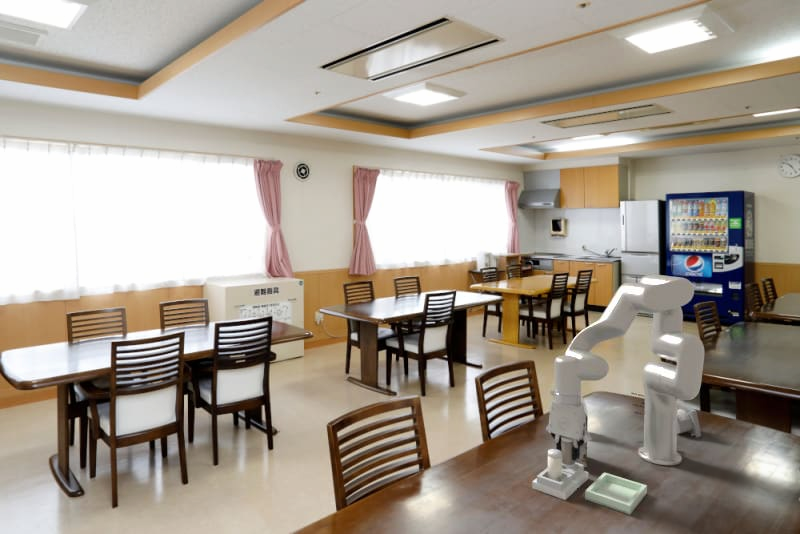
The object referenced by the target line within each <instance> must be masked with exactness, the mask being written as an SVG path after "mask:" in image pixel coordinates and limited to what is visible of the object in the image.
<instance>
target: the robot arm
mask: <svg viewBox="0 0 800 534" xmlns="http://www.w3.org/2000/svg"><path fill="white" fill-rule="evenodd" d="M694 293H695V287H694V285H693V283H692V282H691V281H690V280H689V279H687V278H685V277H680V276H669V275H662V274H647V275H644V276H642V277H641V278H640V280H639V282H631V281H630V282H625V283H623V284H620V286H619V287H618V288H617V290H616V291H615V293H614V295H613V296H612V298H611V300H610V302H609V303H608V305H607V306H606V308H605V309H604V311H603V312H602V315H601V316H600V317H599V318H598V319H597V320H596V321H595V322H593V323H591V324H590V325H588V326H587V327H586V328H583V329H582V330H581V331H580V332H579V333H577V334H576V336H575V337H574V338H573V339H572V341H571V343H570V344H569V346H568V347H567V349H566V351H565V352H564V355H559V356H557V357H555V359H554V364H553V365H554V366H553V367H554V368H553V369H554V370H553V371H554V373H553V374H554V377H553V378H554V380H553V383H554V389H553V390H551V391H550V395H551V396H553V399H552V400H551V403H550V409H549V417H548V424H547V426H546V427H545V431H547V433H549V434H550V436H551V437H552V438H553V439H554V442H555V443H556V446H555V447H556V448H555V449H557V450H560V451H561V436H564V437H568V438H572V439H573V444H574V447H572V460H574V461H575V460H576V459H577V458H579V456H580V446H581V445H582V444H583V443H586V442H587V443H589V442H590V441H591V440H592V436H591V435H590V433H589V432H588V429H587V430H586V417H585V410H584V406H583V403H581V396H582V381H588V382H590V381H591V382H593V381H594V382H595V381H600V380H602V379H605V377H606V376H607V375H608V373H609V371H610V370H609V363H608V361H606V359H605V358H603V357H601V356H599V355H597V354H594V353H592V352H590V351H592V349H593V348H594V347H595V346H596V345H599V344H600V343H602V342H605V341H607V340H611V339H612V340H613V339H616V338H620V337H623V336H625V335H626V334H627V332H628V330H629V329H630V327H631V325H632V324H633V322H634V320H636V317H637V316H638V314H639V313H640V312H643V313H649V314H652V315H653V316H652V329H651V335H650V350H651V353H652V354H653V355H654V356H657V357H659V358H662V359H665V360H669V361H672V362H675V363H676V364H672V363H669V362H664V361H662V360H661V361H660V360H652V361H649V362H648V363H646V364H645V365H644V367H643V368H642V369H641V370H642V371H641V381H642V386H643V387H642V388H643V392H644V396H645V397H644V403H645V404H644V407H645V408H644V413H643V416H644V418H643V421H644V422H643V423H644V424H643V446H642V447H639V448H638V456H639V457H640V458H642V459H643V460H645V461H646V462H648V463H652V464H656V465H660V466H675V465H679V464H681V463H682V459H683V458H682V455H681V454H680V453H679V452H678V451H677V446H678V445H677V441H678V440H677V439H678V438H677V436H678V434H677V410H678V409H677V402H678V401H677V399H679V400H684V401H691V400H693V399H695V398H696V397H697V396H698V394H699V392H700V389H701V385H702V379H703V378H702V377H703V369H704V362H705V347H704V344H703V341H702V340H701V339H700V338H699V337H698V336H697V335H694V334H693V333H689V332H684V331H683V321H684V320H683V319H684V316H683V315H684V314H683V310H682V307H683V306H685V305H687V304H689V302H691V301H692V299H693V297H694ZM582 436H584V438H582ZM581 438H582V439H581Z"/></svg>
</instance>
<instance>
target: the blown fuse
mask: <svg viewBox="0 0 800 534" xmlns="http://www.w3.org/2000/svg"><path fill="white" fill-rule="evenodd" d="M572 447H574V444H573V439H572V438H568V437H564V436H561V451H562V466H563V467H565V468H574V467H575V461H574V460H572Z"/></svg>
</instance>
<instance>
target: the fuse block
mask: <svg viewBox="0 0 800 534" xmlns="http://www.w3.org/2000/svg"><path fill="white" fill-rule="evenodd" d="M588 479H589V471H586V470H585V467H584V465H583V464H579V463H576V462H575V467H574V468H565V467H563V466H562V451H560V450H557V449H556V448H551V449H548V450H547V467H546V468H545V469H544V470H543V471H541V472H539V474H537V475H536V478H535V479H533V480H532V486H531V487H532V489H533V490H536V491H539V492H541V493H545V494H548V495H551V496H553V497H555V498H558V499H561V500H563V501H566V500H567V499H568V498H569V497H570V496H571V495H573V494H574V493H575V491H577V490H578V489H579V488H580V487H581V486H582V485H583V484H584V483H585V482H586V481H588ZM577 488H578V489H577Z"/></svg>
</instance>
